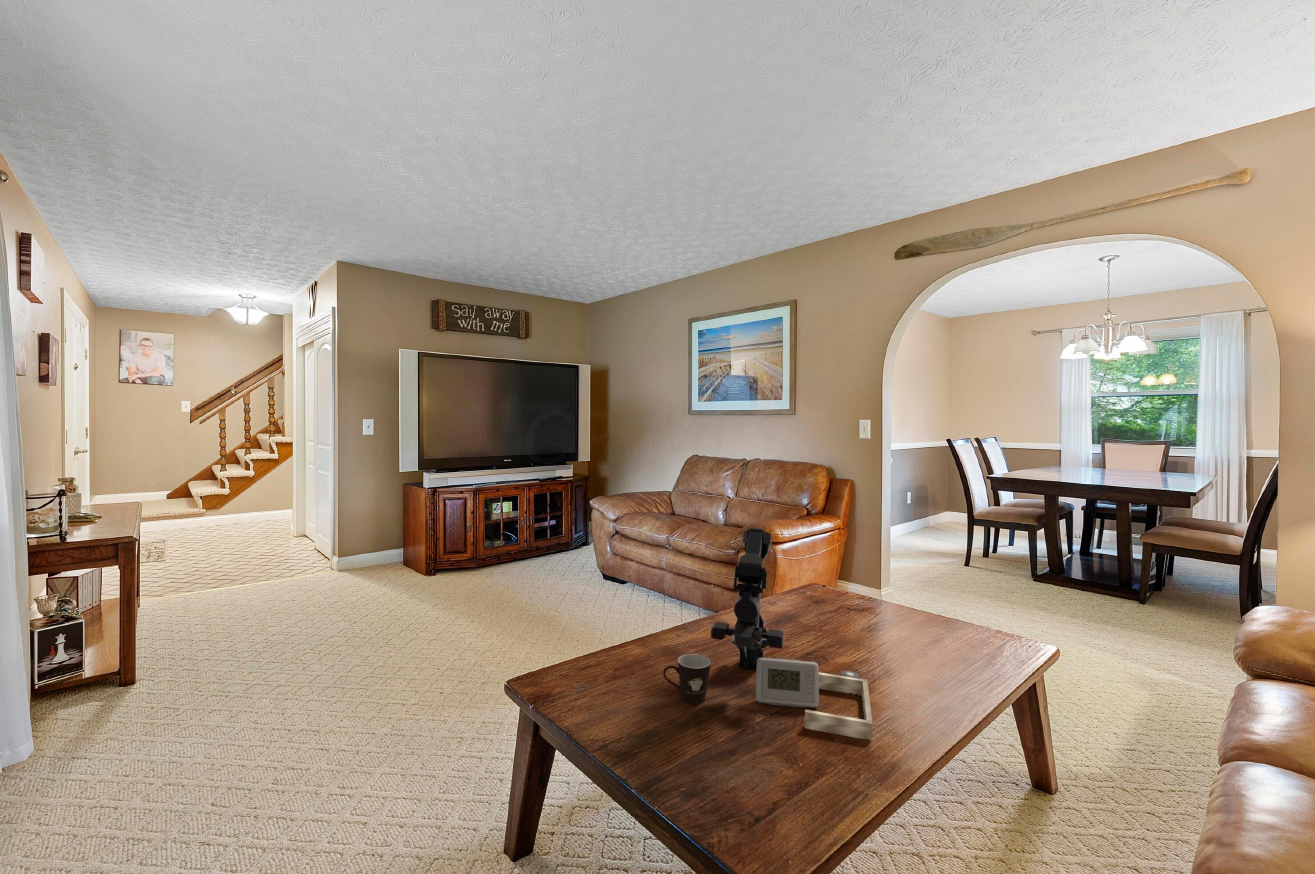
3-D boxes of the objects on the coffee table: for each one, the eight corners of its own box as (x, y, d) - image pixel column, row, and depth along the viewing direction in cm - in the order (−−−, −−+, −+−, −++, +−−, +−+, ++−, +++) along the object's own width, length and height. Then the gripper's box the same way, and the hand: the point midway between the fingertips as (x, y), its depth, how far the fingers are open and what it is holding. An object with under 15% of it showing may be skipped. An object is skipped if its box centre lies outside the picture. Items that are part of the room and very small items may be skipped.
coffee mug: (712, 694, 156) (714, 657, 156) (704, 709, 148) (706, 670, 148) (671, 685, 160) (672, 649, 160) (660, 700, 152) (662, 662, 152)
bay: (804, 728, 141) (805, 711, 141) (808, 684, 164) (809, 670, 163) (871, 740, 137) (872, 723, 137) (866, 694, 159) (867, 679, 159)
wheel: (840, 684, 165) (840, 676, 165) (839, 676, 170) (840, 668, 170) (859, 687, 163) (859, 679, 163) (858, 679, 168) (858, 671, 168)
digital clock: (752, 703, 152) (754, 663, 152) (758, 688, 161) (759, 649, 160) (817, 716, 147) (819, 674, 147) (819, 699, 156) (821, 660, 155)
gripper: (707, 613, 151) (705, 673, 152) (781, 624, 145) (778, 685, 146) (715, 600, 161) (713, 656, 162) (785, 609, 156) (782, 666, 157)
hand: (745, 666), depth 157 cm, fingers closed
